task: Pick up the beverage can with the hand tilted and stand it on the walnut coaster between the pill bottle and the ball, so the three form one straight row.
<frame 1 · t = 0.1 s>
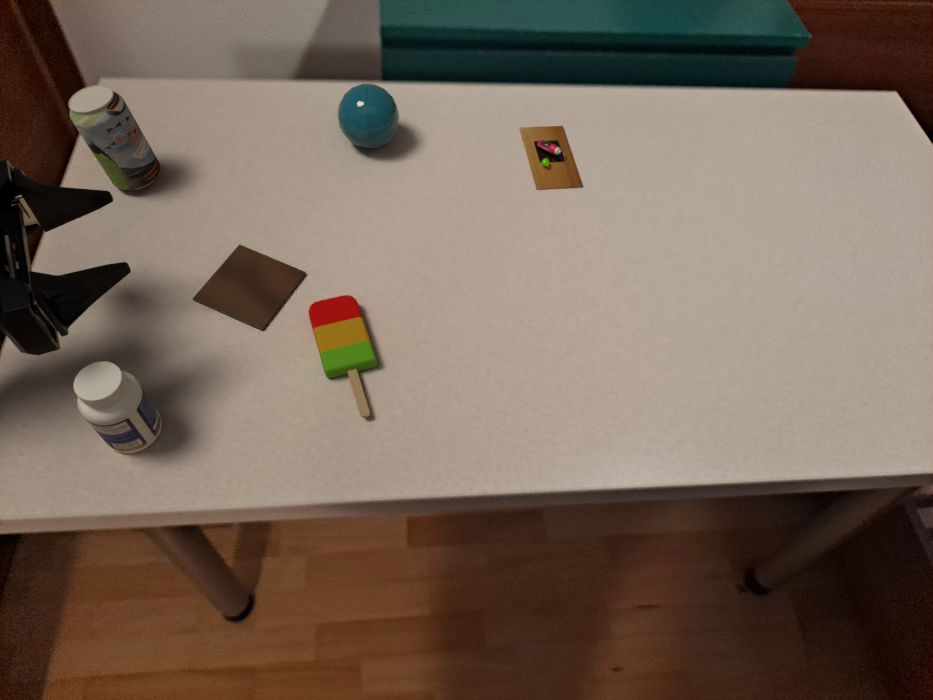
hand: (120, 230, 63), 14 cm above the table, tool horizontal, fingers open, 9 cm apart
coaster: (250, 287, 78), on the table
board: (549, 158, 94), on the table
ball: (369, 142, 93), on the table
pill bottle: (135, 430, 68), on the table
popsicle: (348, 361, 74), on the table
beverage can: (134, 179, 86), on the table
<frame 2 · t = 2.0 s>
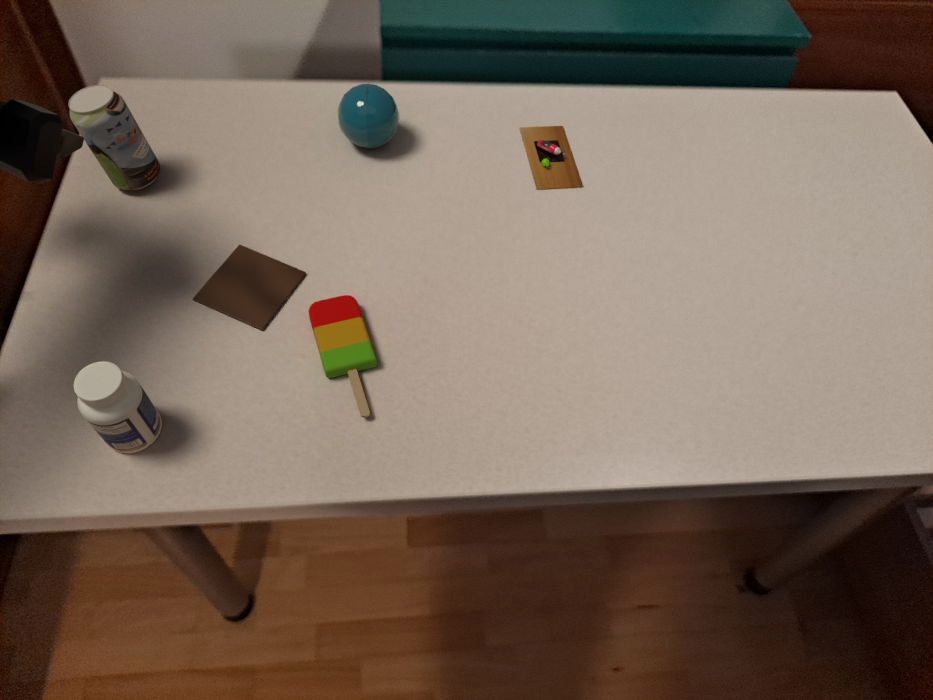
hand: (46, 125, 70), 14 cm above the table, tool tilted 45°, fingers open, 9 cm apart
nothing on the table moved.
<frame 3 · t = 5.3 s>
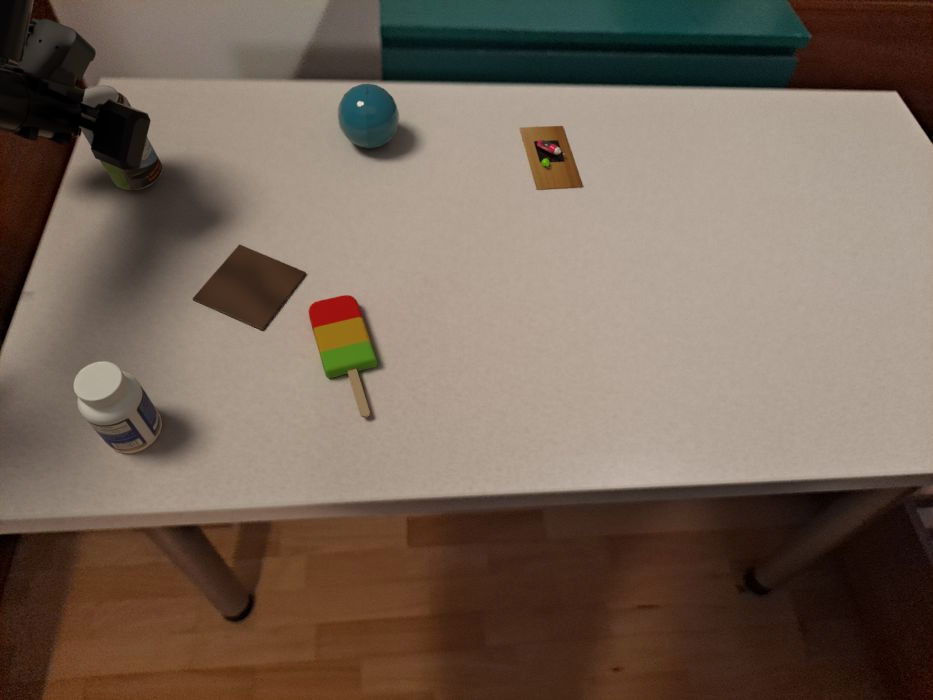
hand: (120, 125, 81), 7 cm above the table, tool tilted 45°, fingers closed on beverage can, 6 cm apart
beverage can: (135, 178, 86), on the table, touching gripper
everything else where it was.
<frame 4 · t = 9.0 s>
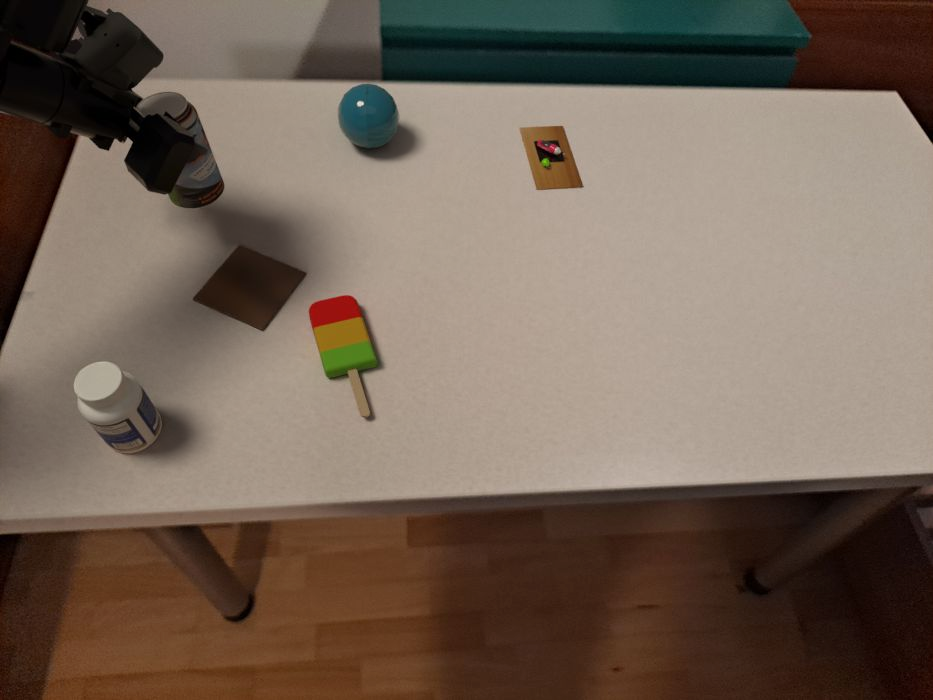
hand: (188, 138, 73), 12 cm above the table, tool tilted 45°, fingers closed on beverage can, 6 cm apart
beverage can: (194, 195, 78), point 5 cm above the table, touching gripper
everything else where it was.
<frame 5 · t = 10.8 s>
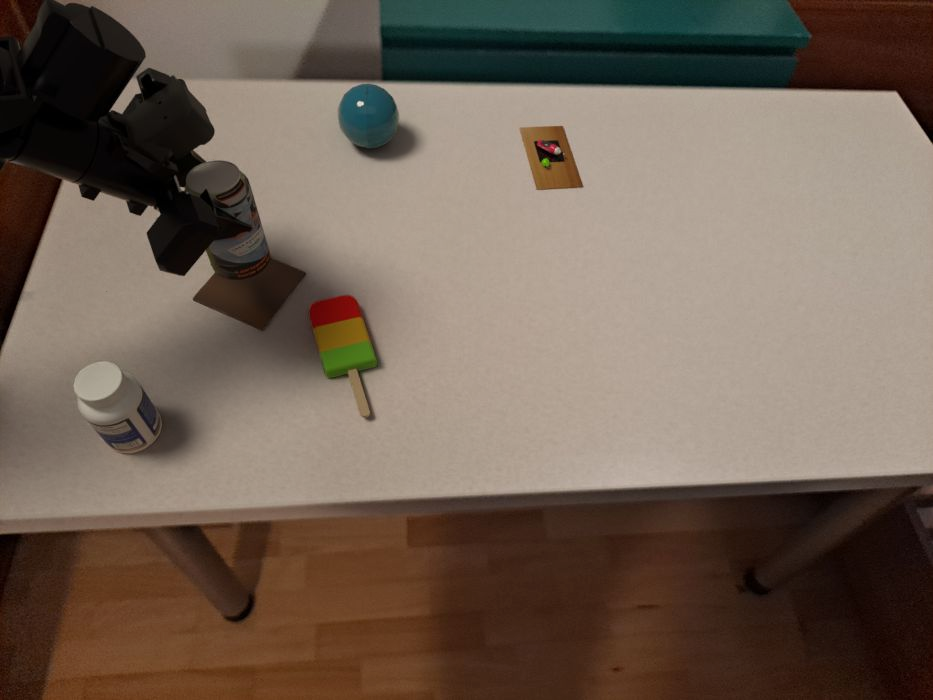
hand: (240, 209, 68), 12 cm above the table, tool tilted 45°, fingers closed on beverage can, 6 cm apart
beverage can: (240, 262, 73), point 5 cm above the table, touching gripper
everything else where it was.
when the fingers open (7 cm above the table, at t = 12.6 s): beverage can stays where it is, resting on coaster.
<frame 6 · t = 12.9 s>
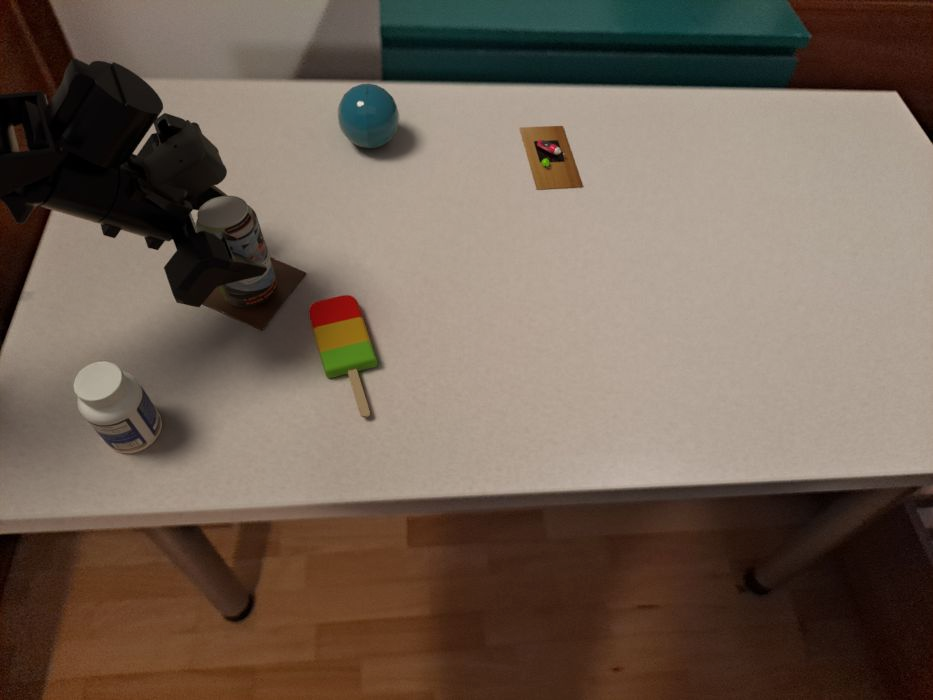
hand: (251, 239, 72), 7 cm above the table, tool tilted 45°, fingers open, 9 cm apart
beverage can: (249, 290, 77), resting on coaster
everything else where it was.
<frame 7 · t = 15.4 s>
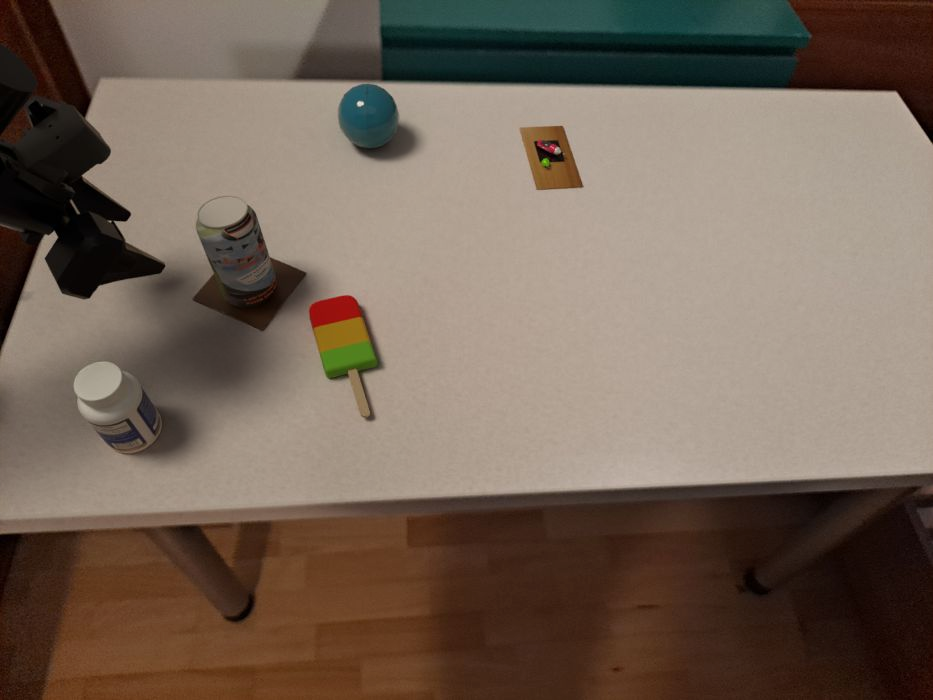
hand: (145, 241, 67), 11 cm above the table, tool tilted 40°, fingers open, 9 cm apart
nothing on the table moved.
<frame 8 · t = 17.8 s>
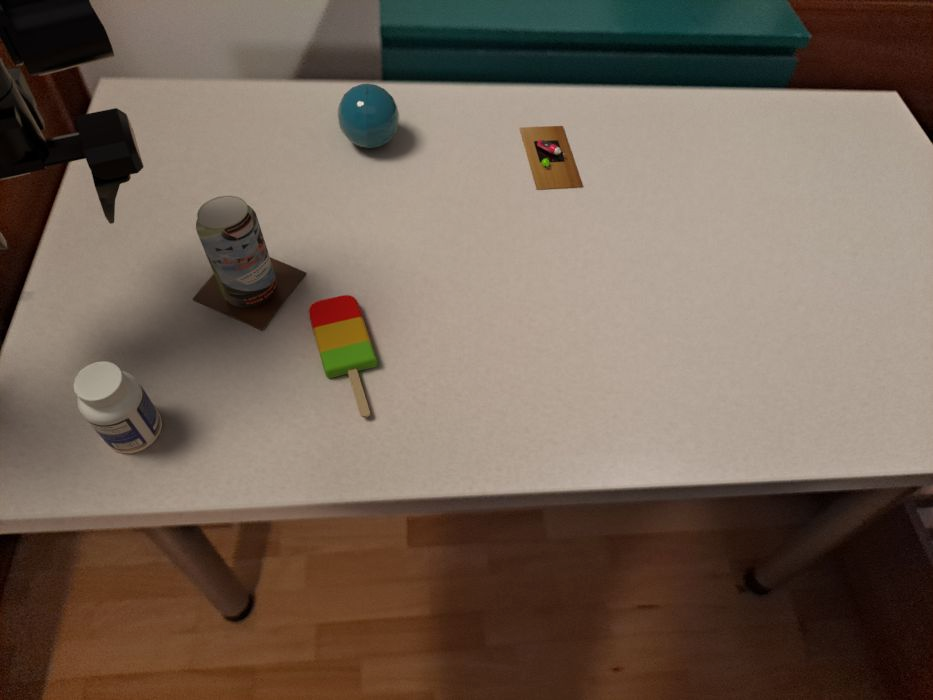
hand: (59, 232, 64), 13 cm above the table, tool pointing down, fingers open, 9 cm apart
nothing on the table moved.
at the end: beverage can 0.6 cm from the target spot on the table beside the pill bottle, resting on coaster; beverage can 0.6 cm from the target spot on the table beside the ball, resting on coaster; beverage can tilted 0° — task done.
